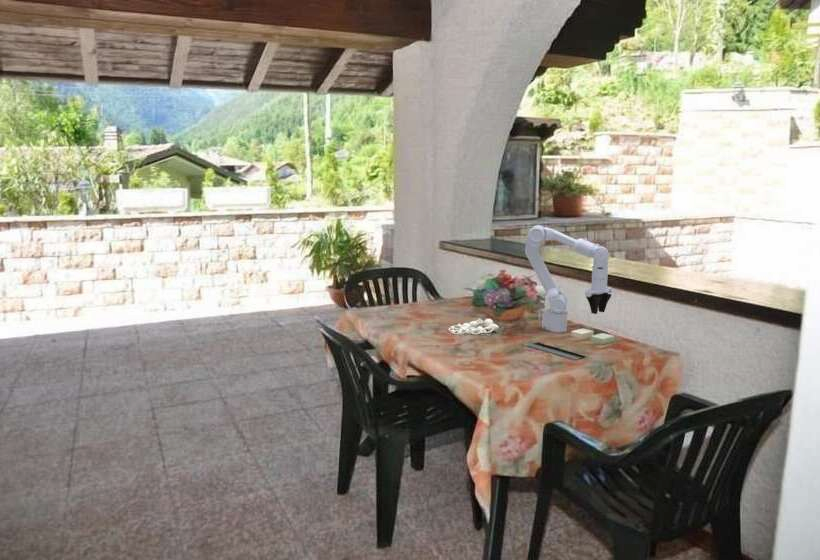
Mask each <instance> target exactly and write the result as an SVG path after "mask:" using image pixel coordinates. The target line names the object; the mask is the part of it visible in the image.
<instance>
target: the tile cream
mask: <svg viewBox="0 0 820 560" xmlns="http://www.w3.org/2000/svg"><path fill="white" fill-rule="evenodd" d="M594 332H595V331H594V330H592V329H588V328H584V327H583V328H578V329H574V330H571V331H570V333H571V336H572V337H576V338H580V339H584V338H588V337H591V336H593V335H594Z"/></svg>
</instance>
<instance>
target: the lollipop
mask: <svg viewBox="0 0 820 560" xmlns="http://www.w3.org/2000/svg"><path fill="white" fill-rule="evenodd" d="M535 287H536V290H537V292H538V294H539V295H540V296H541V297H542V298H543V299H545V298H546V297H547V294H546V291H545V289H544V288H543V286H542V285H537V286H535ZM540 318H541V308H540V309H539V308H538V320H540Z"/></svg>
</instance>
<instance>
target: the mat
mask: <svg viewBox="0 0 820 560" xmlns="http://www.w3.org/2000/svg"><path fill="white" fill-rule="evenodd" d="M526 346H527V347H529V348H532V349H535V350H539V351H543V352H545V353H547V354H548V353H549V354H553V355H556V356H559V357H561V358H565V359H568V358H569V360H572V359H573V361H575V360H576V361H579V360H582V358H583V359H586V358H588V356H587V355H583V354H579V353H575V352H573V351H570V350H566V349H562V348H558V347H555V346H551V345H547V344H545V343H540V342H533V343H529V344H526ZM585 357H586V358H585ZM578 359H579V360H578Z"/></svg>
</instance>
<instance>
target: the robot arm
mask: <svg viewBox="0 0 820 560" xmlns="http://www.w3.org/2000/svg"><path fill="white" fill-rule="evenodd" d="M544 239H545V240H544ZM543 241H545V242H546V241H556V242H558V243H561V244H564V245H565V246H568V247H571V248H572V249H573V251H574V252H575V253H577V254H579V255H581V256H584V257H586V258H588V259H593V260H592V261H593V263H592V264H593V265H592V267H591V288H590V289H588V290H585V291H584V297H585V298H586V300H587V302H588V304H589V308H590V312H591V314H593V315H597V314H598V312H599V313H605V311H606V307H607V305H608V302H610V301H609V300H610V299H611V298H612V294H611V293H613V287H610V286H608V276H609V275H608V273H609V266H608V265H609V262H608V261H609V258H610V253H609V251H608V249H607V247H605V246H602V245H600V244H599V243H593V242H592V241H588V238H586V237H584V238H582V237H581V238H578V239H575V238H573V237H571V236H569V235H567V234H564V233H562V232H560V231H558V230H556V229H553V228H551V227H547V226H545V227H544V226H543V225H541V224H536V225H533V226H532V227H531V228H530V229H529V231H528V232H527V235H526V236H525V246H524V247H525V249H524V253H525V256H526V257H527V259H528V261H529V263H530V265H531V267H532V269H533V271H534V272H535V274H536V277H537V278H538V280H539V282H540V284H541V286H543V288H544V289H545V291H546V294H547V295H546V297H547V299H548V302H549V309H546V310H544V312H543V313H542V317H541V329H542V330H546V331H550V332H552V333H565V332H567V331H568V311H569V310H567V309H566V308H567V304H568V298H567V296H566V295H565V294H564V293H562V292H561V290H560V288H559V287H558V286H557V285H556V282H555V280H554V279H553V276H552V275H551V273H550V271H549V269H548V267H547V266H546V264H545V262H544V260H543V258H542V256H541V254H540V252H539V249H540V247H541V243H542V242H543Z"/></svg>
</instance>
